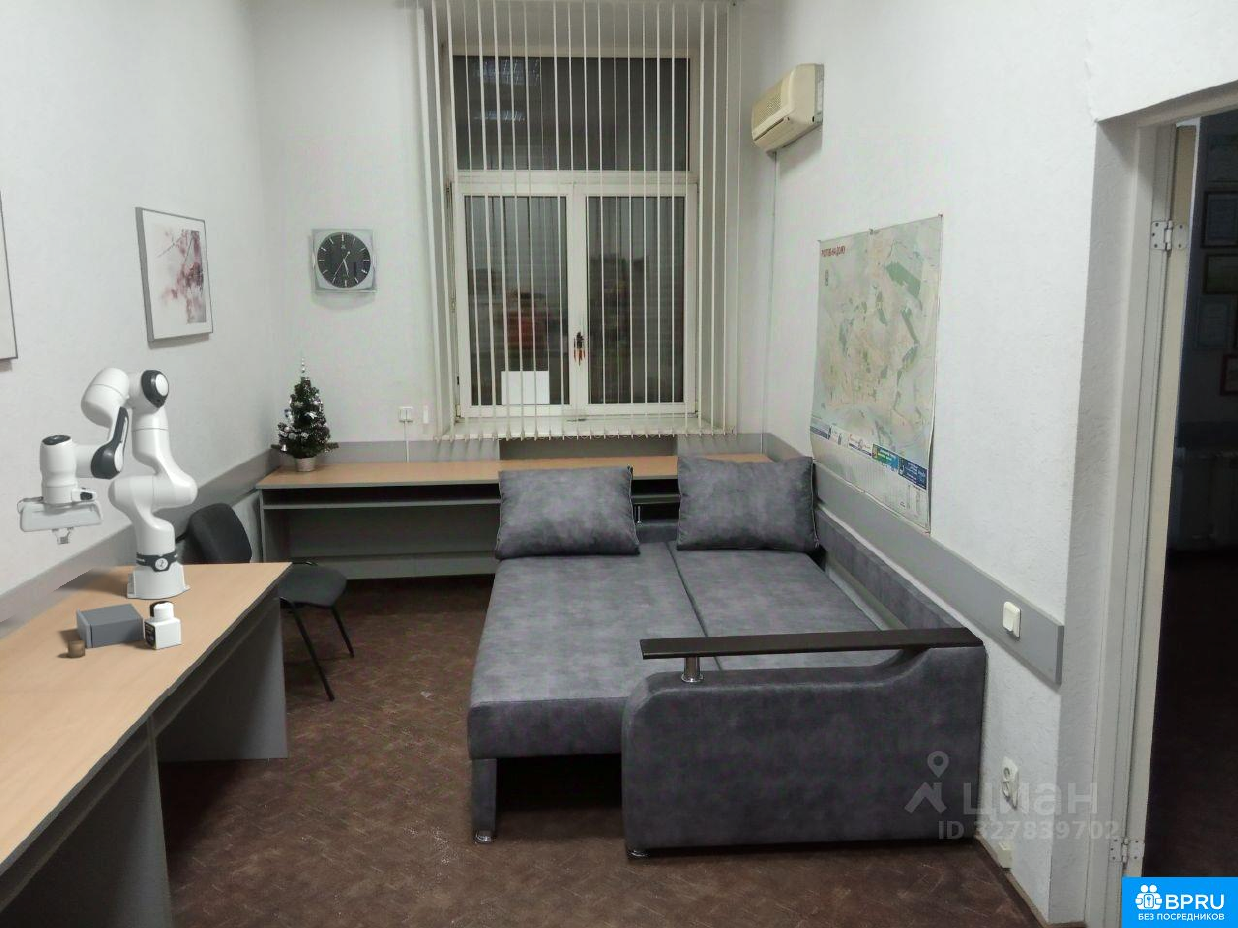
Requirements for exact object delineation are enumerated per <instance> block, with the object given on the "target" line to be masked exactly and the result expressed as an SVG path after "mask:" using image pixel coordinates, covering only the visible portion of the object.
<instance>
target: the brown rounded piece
mask: <svg viewBox="0 0 1238 928" xmlns="http://www.w3.org/2000/svg"><path fill="white" fill-rule="evenodd" d="M67 652H68V653H67V654H68V658H69V659H80V658H83V657H85V656H86V645H85V642H84V641H83V640H73V641H70V642H68V643H67Z"/></svg>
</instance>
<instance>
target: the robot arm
mask: <svg viewBox="0 0 1238 928" xmlns="http://www.w3.org/2000/svg"><path fill="white" fill-rule="evenodd" d="M169 392H170V385H169V381H168V378H167V377H166V375H164V374H163V372H162V371H160V370H156V369H147V370H141V371H140V370H139V371H131V372H125V371H124V370H122V369H119V368H118V367H117V368H116V367H110V366H109V367H105V368H102V369H101V370H100V371H99V372H98V373H97V374H96V375H95V376H94V377H93V379H92V380H91V381H90V383H89V384H88V385H87V388H86V389H85V391H84V392H83V393H84V394H83V395H82V397H81V401H80V408H81V411H82V414H83V415H84V417H85V418H87V420H88V421H89V422H91V423H93V424H95V425H96V426H100V427H104V428H107V429H109V430H108V434H107V439H106V441H104V442H101V443H95V444H94V443H76V442H74V441H73V438H72V437H71V436H70V435H66V434H55V435H51V436H47V437H45V438H43V439H42V440H41V441H40V446H39V456H38V458H39V470H40V473H41V476H42V477H41V478H42V479H41V483H40V486H41V487H40V489H41V496H34V497H23V499H20V500H19V501H18V502H17V504H16V507H17V508H16V509H17V512H18V514H19V529H20V530H21V531H22V532H24V533H31V532H40V531H41V532H42V531H49V530H50V531H51V532H52V534H53V535H54V536H55V537H56V544H57V545H58V546H59V545H66V544H67V545H68V544H71V539H70V538H71V537H72V535H73V533H74V531H75V528H78V527H88V526H97V525H98V526H99V525H101V524H102V523H103V522H104V513H103V507H102V505H101V503H100V502H99V501H98V499H97V498H98V494H97V492H96V490H94V489H91V488H87V487H83V486H79V483H78V479H99V480H112V481H111V482H110V485H109V487H108V490H107V497H108V500H109V501H108V502H109V503H110V504H111V506H112V507H114V508H115V509H116V510H118V511H120V512H121V513H123V514H124V515H125V516H126V517H127V518H128V519H129V520H130V522H131V524H132V525H133V529H134V531H135V537H136V546H137V551H136V554H135V559H136V560H135V563H136V565H135V566H134V568H133V572H132V573H131V572H130V573H127V579H128V583H126V598H128V599H141V600H158V599H167V598H172V597H175V596H179V595H180V594H182V593H184V592H186V591H189V590H190V589H191V587H190V585H189V584H187V583H185V578H184V577H185V575H184V567H183V565H182V563H180V562H178V556H179V555H178V550H177V548H176V538H175V537H176V536H175V527H174V525H173V524H172V523H171V522H170V521H168V520H166V519H163V518H161V517H158V516H156V515H155V514H154V513H153V510H157V509H173V508H174V509H176V508H181V507H184V506H185V507H186V506H188V505H192V504H193V502H194V501H195V500H196V498H197V496H198V484H197V483H196V481H195V479H194V478H193V477H192V476H191V475H189V474H188V473H186V472H185V471H183V470H182V469H181V468H180V466H178V465H177V463H176V461H175V460H174V457H173V454H172V448H171V440H170V427H169V426H170V425H169V420H168V414H167V410H166V408H165V403H166V400H167V398H168V396H169ZM129 409H131V412H132V413H131V425H130V418H129V413H128V410H129ZM129 426H130V427H131V428H130V429H131V431H130V432H131V433H130V434H131V451H132V452H131V454H132V456H133V458H134V459H135V460H136V461H137V462H139V463H140V464H143V465H146V466H148V467H150V468H152V469H153V470H154V471H155V473H154V474H142V475H141V474H140V475H139V474H138V475H137V474H136V475H127V476H123V477H119V478H115V477H117V476H118V475H119V474H120V473H121V472H122V470H123V466H124V455H125V453H124V452H125V447H126V443H127V438H128V432H129ZM77 478H78V479H77ZM114 478H115V479H114ZM113 479H114V480H113ZM60 529H66V531H67V534H66V535H65V536H60V535H59V534H58V533H59V532H60ZM129 581H130V582H129Z"/></svg>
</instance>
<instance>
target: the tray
mask: <svg viewBox="0 0 1238 928" xmlns="http://www.w3.org/2000/svg"><path fill="white" fill-rule="evenodd" d="M81 611H82V610H80V609H77V610H75V616H76V618H75V619H76V630H77V631H76V632H77V634H78V635H79V637H80V639H81V641H84V642H85V648H87V649H91V648H92V649H93V647H92V636H91V632H90V624H89V623H88V621H87V620H86V618H85V617H84V615H83V614H82V612H81Z"/></svg>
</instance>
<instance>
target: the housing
mask: <svg viewBox="0 0 1238 928" xmlns="http://www.w3.org/2000/svg"><path fill="white" fill-rule="evenodd" d="M80 611H81V612H82V614H83V615H84V617H85V618H86V620H87V621H88V623H89V624H90V627H91V633H92V646H91V647H92V649H95V648H100V647H106V646H107V647H108V646H112V645H119V644H125V643H129V642H135V641H140V640H141V641H142V640H145V627H144V617H143V616H142V615H141V614H140V613H139V611H138V610H137V609H136V608H135V607H134V606H133V604H132V603H125V604H117V605H112V606H111V605H110V606H104V607H98V608H91V609H83V610H80Z"/></svg>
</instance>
